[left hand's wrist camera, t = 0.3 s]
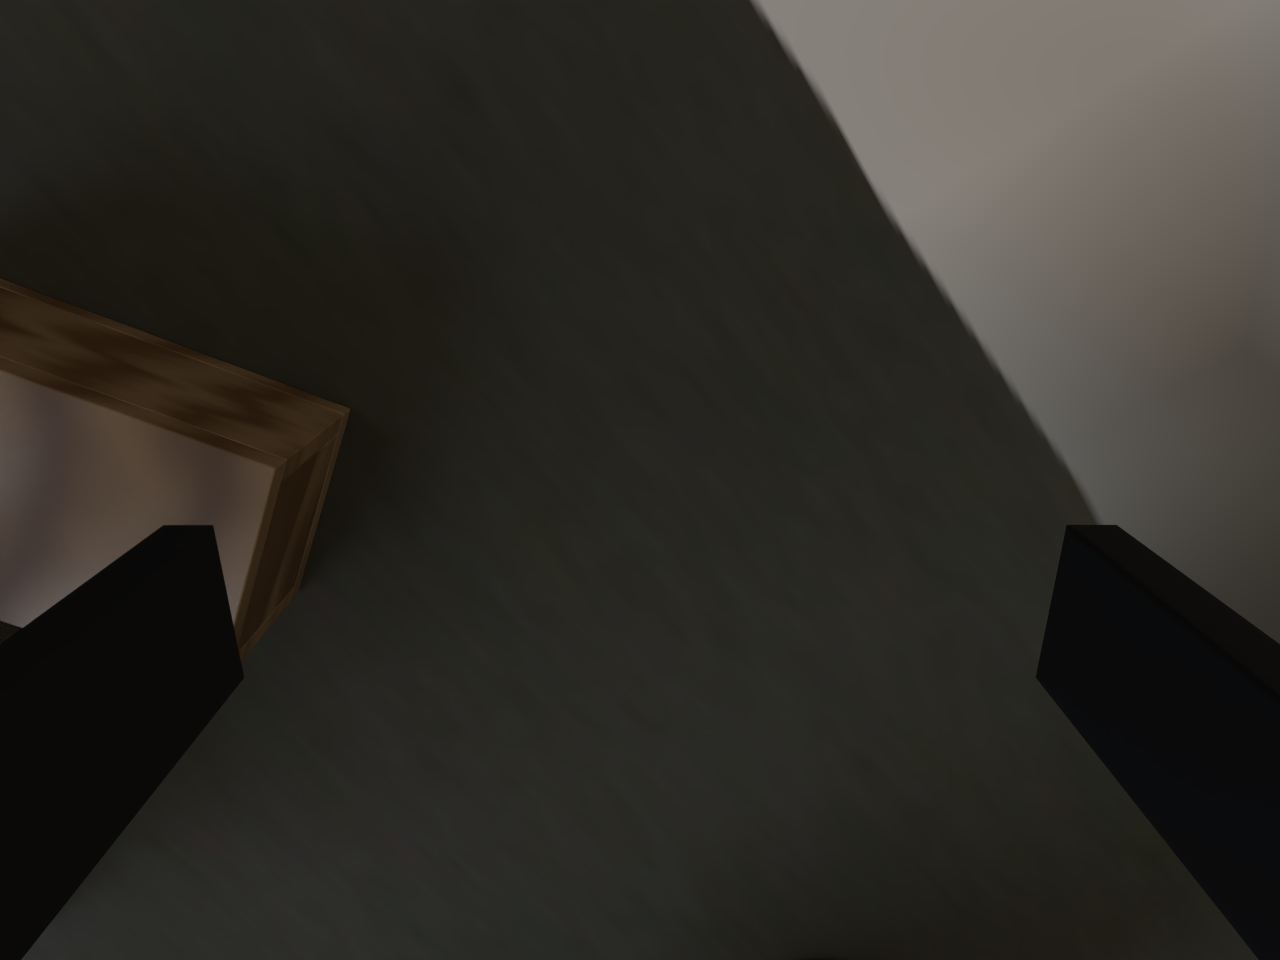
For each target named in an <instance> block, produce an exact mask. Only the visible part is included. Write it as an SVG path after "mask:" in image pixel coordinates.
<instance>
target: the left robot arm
mask: <svg viewBox="0 0 1280 960" xmlns="http://www.w3.org/2000/svg"><path fill="white" fill-rule="evenodd" d="M243 678H244V674H243V669H242V664H241V659H240V654H239V650H238V645H237V640H236V635H235V630H234V625H233V620H232V615H231V610H230V605H229V600H228V595H227V590H226V585H225V580H224V576H223V571H222V566H221V561H220V556H219V551H218V546H217V541H216V536H215V531H214V526H213V525H163V526H161V527H160V528H159V529H157V530H156V531H155V532H153V533H152V534H150V535H149V536H148V537H146V538H145V539H144V540H142V541H141V542H140V543H138V544H137V545H135V546H134V547H133V548H131V549H130V550H129V551H127V552H126V553H125V554H123V555H122V556H120V557H119V558H118V559H116V560H115V561H114V562H112V563H111V564H109V565H108V566H107V567H105V568H104V569H103V570H101V571H100V572H99V573H97V574H96V575H94V576H93V577H92V578H90V579H89V580H88V581H86V582H85V583H83V584H82V585H81V586H79V587H78V588H77V589H75V590H74V591H73V592H71V593H70V594H68V595H67V596H66V597H64V598H63V599H62V600H60V601H59V602H57V603H56V604H55V605H53V606H52V607H51V608H49V609H48V610H47V611H45V612H44V613H42V614H41V615H40V616H38V617H37V618H36V619H34V620H33V621H31V622H30V623H29V624H27V625H26V626H25V627H23V628H22V629H21V630H19V631H18V632H16V633H15V634H14V635H12V636H11V637H10V638H8V639H7V640H5V641H4V642H3V643H1V644H0V960H21V959H22V958H23V957H24V955H25V954H26V953H27V951H28V950H29V949H30V948H31V946H32V945H33V944H34V943H35V941H36V940H37V939H38V938H39V936H40V935H41V934H42V933H43V931H44V930H45V929H46V927H47V926H48V925H49V924H50V922H51V921H52V920H53V919H54V917H55V916H56V915H57V914H58V912H59V911H60V910H61V908H62V907H63V906H64V905H65V903H66V902H67V901H68V900H69V898H70V897H71V896H72V895H73V893H74V892H75V891H76V890H77V888H78V887H79V886H80V884H81V883H82V882H83V881H84V879H85V878H86V877H87V876H88V874H89V873H90V872H91V871H92V869H93V868H94V867H95V865H96V864H97V863H98V862H99V860H100V859H101V858H102V857H103V855H104V854H105V853H106V852H107V850H108V849H109V848H110V847H111V845H112V844H113V843H114V841H115V840H116V839H117V838H118V836H119V835H120V834H121V833H122V831H123V830H124V829H125V828H126V826H127V825H128V824H129V822H130V821H131V820H132V819H133V817H134V816H135V815H136V814H137V812H138V811H139V810H140V809H141V807H142V806H143V805H144V804H145V802H146V801H147V800H148V798H149V797H150V796H151V795H152V793H153V792H154V791H155V790H156V788H157V787H158V786H159V785H160V783H161V782H162V781H163V779H164V778H165V777H166V776H167V774H168V773H169V772H170V771H171V769H172V768H173V767H174V766H175V764H176V763H177V762H178V761H179V759H180V758H181V757H182V755H183V754H184V753H185V752H186V750H187V749H188V748H189V747H190V745H191V744H192V743H193V742H194V740H195V739H196V738H197V736H198V735H199V734H200V733H201V731H202V730H203V729H204V728H205V726H206V725H207V724H208V723H209V721H210V720H211V719H212V717H213V716H214V715H215V714H216V712H217V711H218V710H219V709H220V707H221V706H222V705H223V704H224V702H225V701H226V700H227V699H228V697H229V696H230V695H231V693H232V692H233V691H234V690H235V688H236V687H237V686H238V685H239V683H240V682H241V681H242V680H243ZM1036 678H1037V680H1038V681H1039V682H1040V683H1041V685H1042V686H1043V687H1044V688H1045V690H1046V691H1047V692H1048V693H1049V695H1050V696H1051V697H1052V699H1053V700H1054V701H1055V702H1056V704H1057V705H1058V706H1059V707H1060V709H1061V710H1062V711H1063V712H1064V714H1065V715H1066V716H1067V717H1068V719H1069V720H1070V721H1071V723H1072V724H1073V725H1074V726H1075V728H1076V729H1077V730H1078V731H1079V733H1080V734H1081V735H1082V736H1083V738H1084V739H1085V740H1086V742H1087V743H1088V744H1089V745H1090V747H1091V748H1092V749H1093V750H1094V752H1095V753H1096V754H1097V755H1098V757H1099V758H1100V759H1101V760H1102V762H1103V763H1104V764H1105V766H1106V767H1107V768H1108V769H1109V771H1110V772H1111V773H1112V774H1113V776H1114V777H1115V778H1116V779H1117V781H1118V782H1119V783H1120V785H1121V786H1122V787H1123V788H1124V790H1125V791H1126V792H1127V793H1128V795H1129V796H1130V797H1131V798H1132V800H1133V801H1134V802H1135V804H1136V805H1137V806H1138V807H1139V809H1140V810H1141V811H1142V812H1143V814H1144V815H1145V816H1146V817H1147V819H1148V820H1149V821H1150V822H1151V824H1152V825H1153V826H1154V828H1155V829H1156V830H1157V831H1158V833H1159V834H1160V835H1161V836H1162V838H1163V839H1164V840H1165V841H1166V843H1167V844H1168V845H1169V847H1170V848H1171V849H1172V850H1173V852H1174V853H1175V854H1176V855H1177V857H1178V858H1179V859H1180V860H1181V862H1182V863H1183V864H1184V865H1185V867H1186V868H1187V869H1188V871H1189V872H1190V873H1191V874H1192V876H1193V877H1194V878H1195V879H1196V881H1197V882H1198V883H1199V884H1200V886H1201V887H1202V888H1203V890H1204V891H1205V892H1206V893H1207V895H1208V896H1209V897H1210V898H1211V900H1212V901H1213V902H1214V903H1215V905H1216V906H1217V907H1218V908H1219V910H1220V911H1221V912H1222V914H1223V915H1224V916H1225V917H1226V919H1227V920H1228V921H1229V922H1230V924H1231V925H1232V926H1233V927H1234V929H1235V930H1236V931H1237V933H1238V934H1239V935H1240V936H1241V938H1242V939H1243V940H1244V941H1245V943H1246V944H1247V945H1248V946H1249V948H1250V949H1251V950H1252V951H1253V953H1254V954H1255V955H1256V957H1257V958H1258V959H1259V960H1280V644H1279V643H1277V642H1276V641H1275V640H1273V639H1272V638H1270V637H1269V636H1268V635H1266V634H1265V633H1264V632H1262V631H1261V630H1259V629H1258V628H1257V627H1255V626H1254V625H1253V624H1251V623H1250V622H1249V621H1247V620H1246V619H1244V618H1243V617H1242V616H1240V615H1239V614H1238V613H1236V612H1235V611H1233V610H1232V609H1231V608H1229V607H1228V606H1227V605H1225V604H1224V603H1222V602H1221V601H1220V600H1218V599H1217V598H1216V597H1214V596H1213V595H1212V594H1210V593H1209V592H1207V591H1206V590H1205V589H1203V588H1202V587H1201V586H1199V585H1198V584H1197V583H1195V582H1194V581H1192V580H1191V579H1190V578H1188V577H1187V576H1186V575H1184V574H1183V573H1181V572H1180V571H1179V570H1177V569H1176V568H1175V567H1173V566H1172V565H1171V564H1169V563H1168V562H1166V561H1165V560H1164V559H1162V558H1161V557H1160V556H1158V555H1157V554H1155V553H1154V552H1153V551H1151V550H1150V549H1149V548H1147V547H1146V546H1145V545H1143V544H1142V543H1140V542H1139V541H1138V540H1136V539H1135V538H1134V537H1132V536H1131V535H1130V534H1128V533H1127V532H1125V531H1124V530H1123V529H1121V528H1120V527H1119V526H1117V525H1067V526H1066V531H1065V536H1064V541H1063V546H1062V551H1061V556H1060V561H1059V566H1058V571H1057V576H1056V580H1055V585H1054V590H1053V595H1052V600H1051V605H1050V610H1049V615H1048V620H1047V625H1046V630H1045V635H1044V640H1043V645H1042V650H1041V654H1040V659H1039V664H1038V669H1037V674H1036Z"/></svg>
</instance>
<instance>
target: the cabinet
mask: <svg viewBox="0 0 1280 960" xmlns="http://www.w3.org/2000/svg"><path fill="white" fill-rule="evenodd" d="M349 414H350V408H347V407H345V406H342V405H339V404H337V403H334V402H331V401H329V400H326V399H323V398H321V397H318V396H315V395H313V394H310V393H307V392H304V391H302V390H299V389H296V388H294V387H291V386H288V385H286V384H283V383H280V382H278V381H275V380H272V379H270V378H267V377H264V376H261V375H259V374H256V373H253V372H251V371H248V370H245V369H243V368H240V367H237V366H235V365H232V364H229V363H226V362H224V361H221V360H218V359H216V358H213V357H210V356H208V355H205V354H202V353H200V352H197V351H194V350H192V349H189V348H186V347H183V346H181V345H178V344H175V343H173V342H170V341H167V340H165V339H162V338H159V337H157V336H154V335H151V334H149V333H146V332H143V331H140V330H138V329H135V328H132V327H130V326H127V325H124V324H122V323H119V322H116V321H114V320H111V319H108V318H106V317H103V316H100V315H97V314H95V313H92V312H89V311H87V310H84V309H81V308H79V307H76V306H73V305H71V304H68V303H65V302H63V301H60V300H57V299H54V298H52V297H49V296H46V295H44V294H41V293H38V292H36V291H33V290H30V289H28V288H25V287H22V286H20V285H17V284H14V283H11V282H9V281H6V280H3V279H1V278H0V621H2V622H5V623H8V624H11V625H15V626H18V627H21V628H23V627H25V626H26V625H27V624H29V623H30V622H31V621H33V620H34V619H36V618H37V617H38V616H40V615H41V614H42V613H44V612H45V611H47V610H48V609H49V608H51V607H52V606H53V605H55V604H56V603H57V602H59V601H60V600H62V599H63V598H64V597H66V596H67V595H68V594H70V593H71V592H73V591H74V590H75V589H77V588H78V587H79V586H81V585H82V584H83V583H85V582H86V581H88V580H89V579H90V578H92V577H93V576H94V575H96V574H97V573H99V572H100V571H101V570H103V569H104V568H105V567H107V566H108V565H109V564H111V563H112V562H114V561H115V560H116V559H118V558H119V557H120V556H122V555H123V554H125V553H126V552H127V551H129V550H130V549H131V548H133V547H134V546H135V545H137V544H138V543H140V542H141V541H142V540H144V539H145V538H146V537H148V536H149V535H150V534H152V533H153V532H155V531H156V530H157V529H159V528H160V527H161V526H163V525H213V526H214V531H215V536H216V541H217V546H218V551H219V556H220V561H221V566H222V571H223V576H224V580H225V585H226V590H227V595H228V600H229V605H230V610H231V615H232V620H233V625H234V630H235V635H236V640H237V645H238V650H239V654H240V659H241V661H242V660H243V659H244V658H245V656H246V655H247V654H248V653H249V652H250V650H251V649H252V648H253V647H254V645H255V644H256V643H257V642H258V641H259V639H260V638H261V637H262V636H263V635H264V633H265V632H266V631H267V630H268V629H269V627H270V626H271V625H272V624H273V623H274V621H275V620H276V619H277V618H278V617H279V615H280V614H281V613H282V612H283V610H284V609H285V608H286V607H287V606H288V604H289V603H290V602H291V601H292V600H293V598H294V597H295V596H296V595H297V594H298V591H299V588H300V584H301V581H302V577H303V574H304V570H305V567H306V563H307V560H308V556H309V553H310V549H311V546H312V542H313V539H314V535H315V532H316V528H317V525H318V521H319V518H320V514H321V511H322V508H323V504H324V501H325V497H326V494H327V490H328V487H329V483H330V480H331V476H332V473H333V469H334V466H335V462H336V459H337V455H338V452H339V448H340V445H341V441H342V438H343V434H344V431H345V427H346V424H347V420H348V417H349Z"/></svg>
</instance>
